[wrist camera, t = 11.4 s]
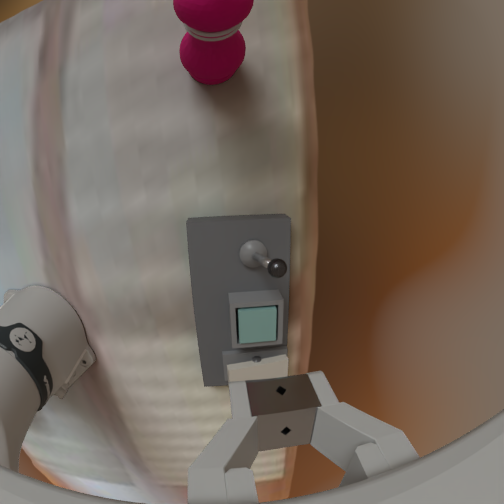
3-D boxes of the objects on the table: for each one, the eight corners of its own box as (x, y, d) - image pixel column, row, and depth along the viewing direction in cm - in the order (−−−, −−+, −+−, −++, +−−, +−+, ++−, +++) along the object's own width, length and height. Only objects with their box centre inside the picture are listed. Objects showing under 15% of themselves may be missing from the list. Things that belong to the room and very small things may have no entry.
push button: (271, 327, 38) (275, 340, 35) (237, 330, 37) (239, 343, 34) (271, 297, 36) (276, 308, 34) (236, 300, 36) (238, 311, 33)
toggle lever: (261, 262, 35) (290, 278, 29) (246, 265, 34) (273, 282, 29) (261, 245, 34) (291, 259, 29) (245, 248, 33) (273, 263, 28)
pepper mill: (171, 68, 30) (134, -18, 11) (209, 30, 29) (210, -71, 10) (216, 99, 32) (220, 27, 13) (253, 59, 31) (293, -31, 12)
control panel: (280, 367, 44) (289, 392, 38) (204, 373, 43) (204, 400, 37) (284, 213, 37) (297, 222, 31) (188, 218, 36) (183, 228, 30)
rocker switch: (282, 374, 40) (287, 382, 38) (227, 385, 38) (230, 393, 36) (283, 350, 38) (288, 357, 37) (225, 361, 36) (228, 369, 35)
